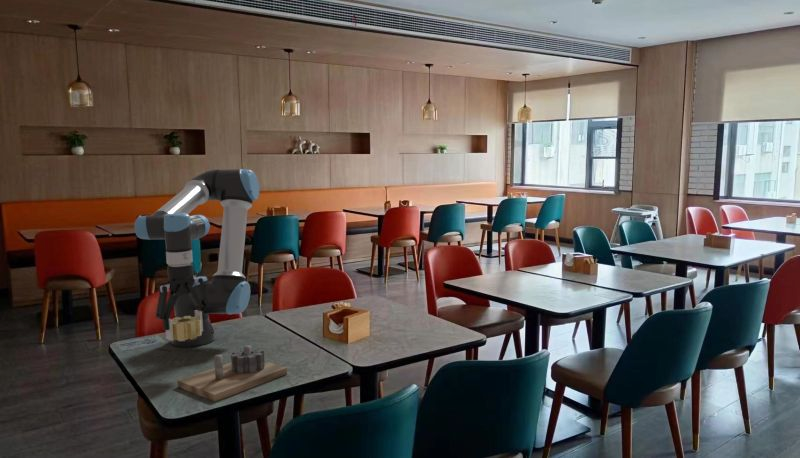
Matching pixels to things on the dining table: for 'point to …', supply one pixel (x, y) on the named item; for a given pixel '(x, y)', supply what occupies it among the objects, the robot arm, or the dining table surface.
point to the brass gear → (186, 328)
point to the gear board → (233, 375)
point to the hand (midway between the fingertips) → (185, 335)
